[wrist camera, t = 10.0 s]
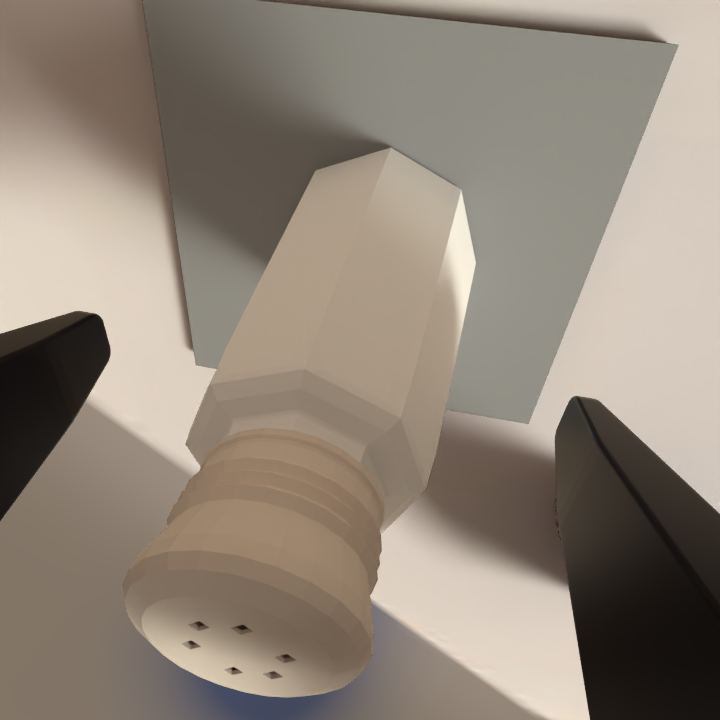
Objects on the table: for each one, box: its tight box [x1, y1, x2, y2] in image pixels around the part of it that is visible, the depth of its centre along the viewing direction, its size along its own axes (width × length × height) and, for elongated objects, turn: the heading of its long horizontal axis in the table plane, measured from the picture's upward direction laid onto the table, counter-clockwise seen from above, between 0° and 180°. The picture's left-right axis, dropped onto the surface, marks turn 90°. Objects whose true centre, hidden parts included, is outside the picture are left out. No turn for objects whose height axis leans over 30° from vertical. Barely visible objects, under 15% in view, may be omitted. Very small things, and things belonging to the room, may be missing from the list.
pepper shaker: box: [123, 148, 476, 697], centre depth 10 cm, size 5×5×11 cm
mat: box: [142, 0, 678, 424], centre depth 14 cm, size 12×11×1 cm
